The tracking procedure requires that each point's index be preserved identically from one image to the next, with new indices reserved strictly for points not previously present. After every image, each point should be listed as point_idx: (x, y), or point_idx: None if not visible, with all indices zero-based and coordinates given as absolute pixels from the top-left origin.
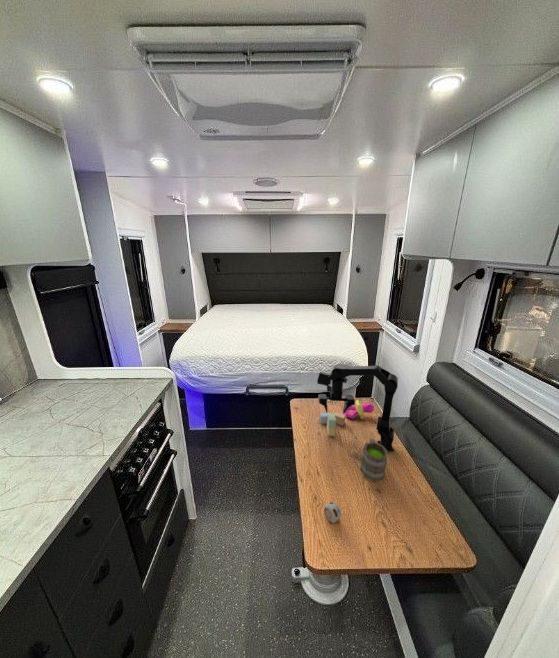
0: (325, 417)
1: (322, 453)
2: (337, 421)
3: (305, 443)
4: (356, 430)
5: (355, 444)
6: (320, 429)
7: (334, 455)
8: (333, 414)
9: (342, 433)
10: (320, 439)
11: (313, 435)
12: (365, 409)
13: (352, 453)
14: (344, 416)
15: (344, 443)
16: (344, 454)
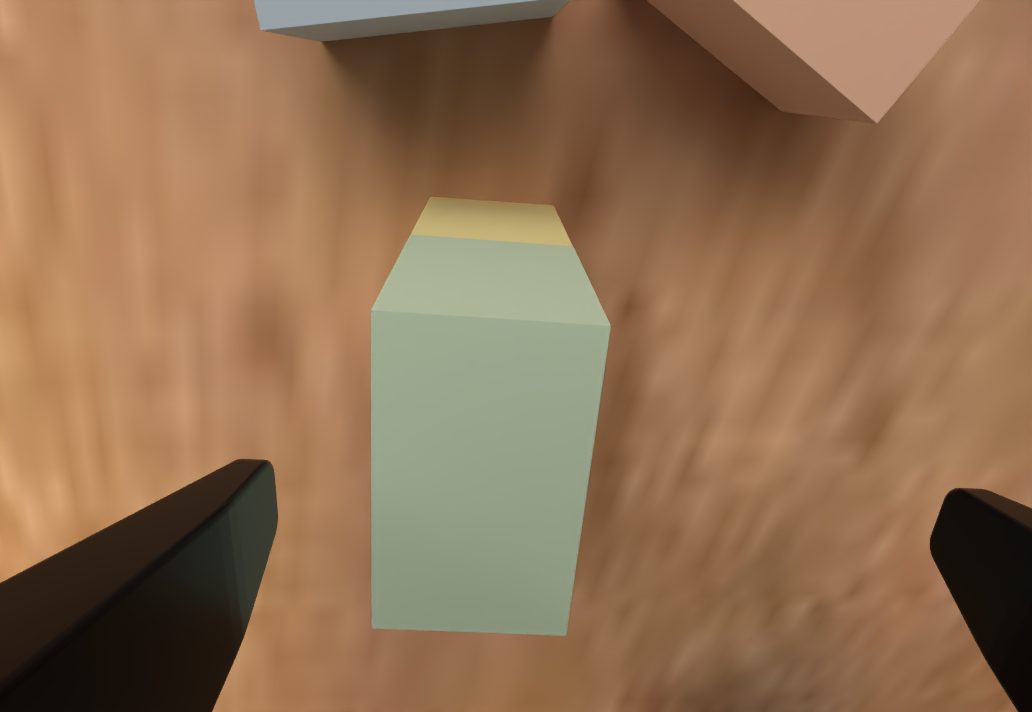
0: (391, 18)
1: (302, 685)
2: (706, 32)
3: (51, 543)
4: (982, 257)
5: (797, 550)
6: (299, 230)
7: (451, 706)
8: (564, 375)
9: (692, 335)
10: (287, 468)
11: (167, 384)
12: None
13: (687, 677)
14: (950, 25)
15: (645, 535)
16: (581, 691)
